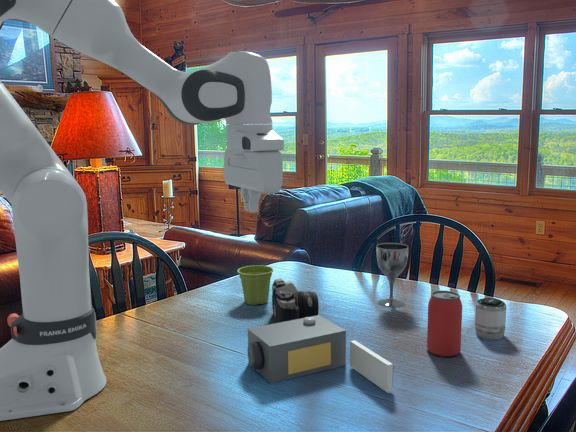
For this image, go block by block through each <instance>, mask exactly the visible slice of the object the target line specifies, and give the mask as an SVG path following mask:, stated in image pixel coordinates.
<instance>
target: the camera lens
mask: <svg viewBox="0 0 576 432" xmlns="http://www.w3.org/2000/svg"><path fill="white" fill-rule="evenodd" d="M474 310H475V312H474V313H475V314H474V315H475V316H474V317H475V318H474V328H475V329H474V330H475V335H476V336H477V337H479V338H481V339H486V340H492V341H494V340H501V339H503V338H504V336H505V333H506V331H505V330H506V321H507V304H506V303H505V302H504V301H503V300H501V299H498V298H495V297H484V298H480V299H478V300H477V301H476V302H475V309H474Z"/></svg>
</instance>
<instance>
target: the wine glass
mask: <svg viewBox="0 0 576 432" xmlns="http://www.w3.org/2000/svg"><path fill="white" fill-rule="evenodd" d="M375 249H376V250H375V251H376V259H377V260H376V261H377V265H378V268H379V269H380V271H381V272H382V273H383V275H385V277H386V279H387V282H388V283H389V297H387V298H381V299H379V300H377V301H376V302H377V305H379V306H381V307H385V308H400V307H401V308H402V307H404V306H405V305H406V302H405V300H404V301H403V300H401V299H398V298H394V287H395V282H396V279H397V278H398V277H399V276H400V275H401V273H402V272H403V271H404V270H405V268H406V267H407V263H408V259H409V258H408V257H409V245H407V244H406V243H400V242H381V243H378V244H376V248H375Z"/></svg>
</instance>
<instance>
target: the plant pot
mask: <svg viewBox="0 0 576 432" xmlns="http://www.w3.org/2000/svg"><path fill="white" fill-rule="evenodd" d="M236 272H237V273H238V275H239V278H240V282H241V287H242V292H243V300H244V303H246V304H247V305H252V306H257V305H259V304H261V305H265V304H266V303H268V302H269V297H270V296H269V295H270V286H271V277H272V275H273V272H274V268H273V267H272V266H267V265H257V264H256V265H246V266H242V267H240V268H237V270H236Z"/></svg>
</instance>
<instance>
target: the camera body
mask: <svg viewBox="0 0 576 432" xmlns="http://www.w3.org/2000/svg"><path fill="white" fill-rule="evenodd" d="M346 350H347V330H346V329H344V328H342V327H341V326H339V325H337V324H336V323H334V322H332V321H330V320H328V319H327V318H325V317H323V316H322V315H320V314H318V315H317V316H311V317H305V318H301V319H296V320H291V321H285V322H280V323H277V322H275V323H270V324H266V325H260V326H256V327H255V326H254V327H250V328H247V360H248V364H249V365H250V367H251V368H252V370H255V371H257V372H258V373H259V374H260V375H261V376H262V377H263V378H264V379H265V380H267V382H269V383H270V384H274V383H279V382H282V381H283V382H284V381H287V380H290V379H295V378H299V377H304V376H307V375H311V374H315V373H319V372H323V371H327V370H331V369H335V368H339V367H340V368H341V367H343V366H347V365H346V364H347V363H346V362H347V361H346V360H347V358H346V357H347V355H346V354H347V351H346Z"/></svg>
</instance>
